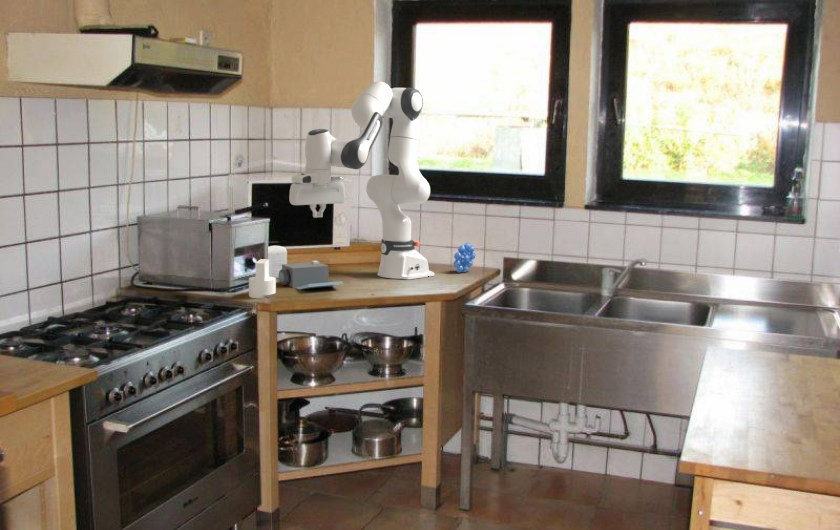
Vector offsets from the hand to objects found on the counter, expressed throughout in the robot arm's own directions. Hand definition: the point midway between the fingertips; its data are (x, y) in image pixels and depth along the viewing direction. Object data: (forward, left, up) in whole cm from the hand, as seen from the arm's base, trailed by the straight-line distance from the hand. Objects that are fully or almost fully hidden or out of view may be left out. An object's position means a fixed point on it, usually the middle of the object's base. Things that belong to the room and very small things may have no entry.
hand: (317, 217), depth 320 cm
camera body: (+1, -9, -26) cm, 28 cm away
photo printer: (+3, -29, -27) cm, 40 cm away
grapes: (-71, -11, -27) cm, 77 cm away
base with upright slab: (+20, -1, -27) cm, 33 cm away
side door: (0, -4, -25) cm, 25 cm away
